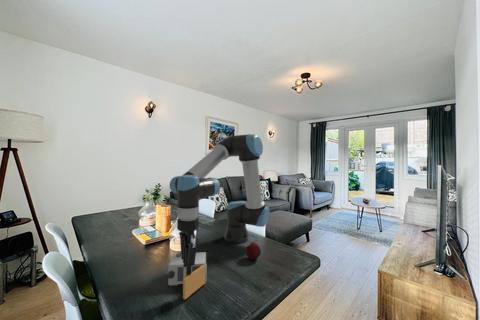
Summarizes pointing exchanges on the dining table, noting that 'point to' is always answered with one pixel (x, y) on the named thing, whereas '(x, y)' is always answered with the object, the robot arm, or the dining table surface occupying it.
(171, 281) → the small grey cabinet
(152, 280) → the dining table surface
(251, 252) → the apple
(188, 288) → the side door
